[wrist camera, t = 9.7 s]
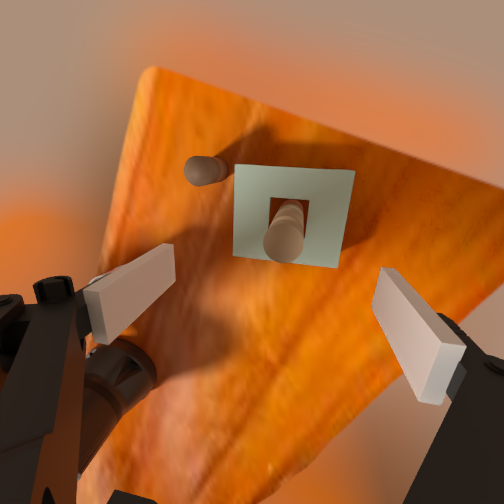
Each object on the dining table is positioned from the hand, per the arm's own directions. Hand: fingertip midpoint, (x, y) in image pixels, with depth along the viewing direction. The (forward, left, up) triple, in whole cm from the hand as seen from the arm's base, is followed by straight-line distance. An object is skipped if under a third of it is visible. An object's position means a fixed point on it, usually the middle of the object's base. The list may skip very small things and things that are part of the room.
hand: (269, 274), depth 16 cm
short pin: (-11, +5, -22) cm, 25 cm away
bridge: (0, 0, -22) cm, 22 cm away
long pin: (+1, 0, -22) cm, 22 cm away
